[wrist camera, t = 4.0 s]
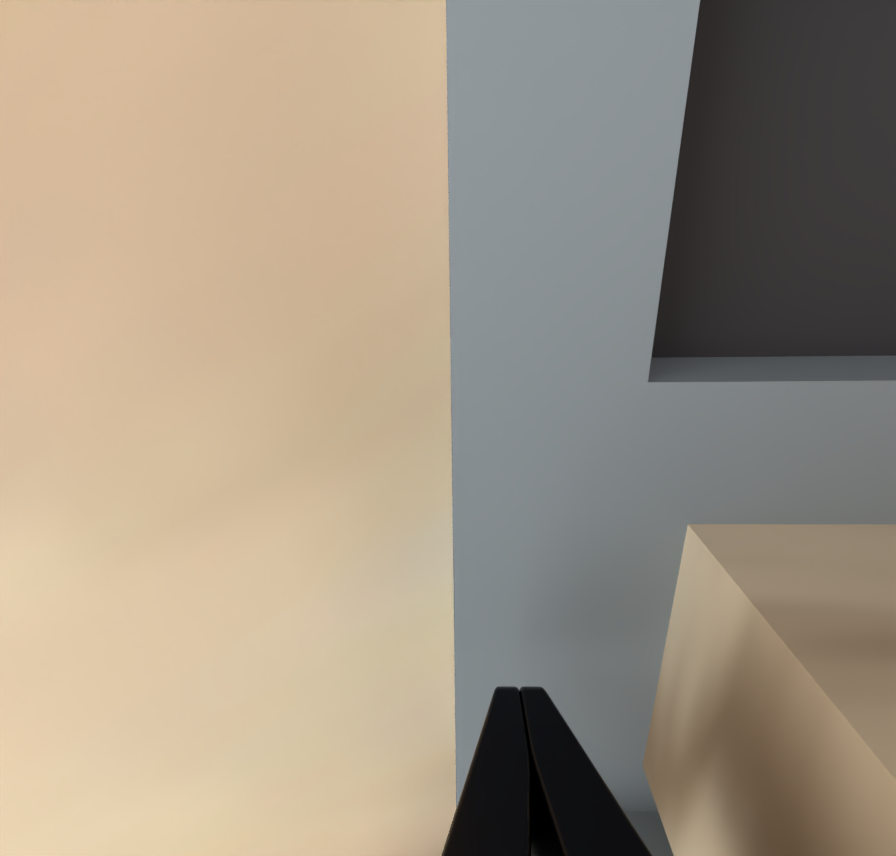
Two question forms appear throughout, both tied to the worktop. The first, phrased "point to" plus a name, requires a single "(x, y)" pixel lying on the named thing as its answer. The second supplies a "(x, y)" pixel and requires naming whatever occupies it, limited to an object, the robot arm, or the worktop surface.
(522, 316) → the board
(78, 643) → the worktop surface
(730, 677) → the maple block
